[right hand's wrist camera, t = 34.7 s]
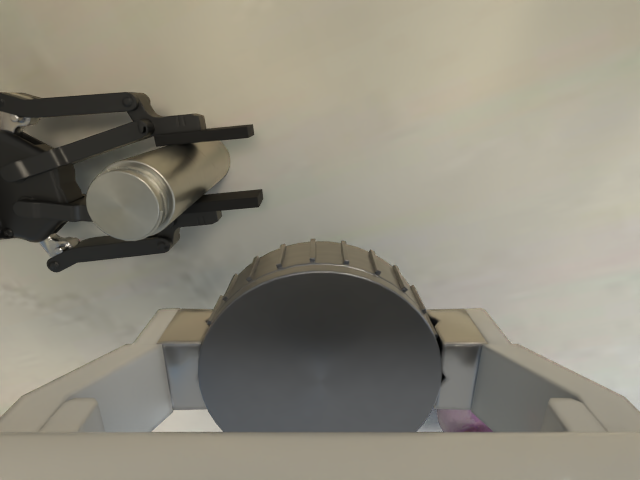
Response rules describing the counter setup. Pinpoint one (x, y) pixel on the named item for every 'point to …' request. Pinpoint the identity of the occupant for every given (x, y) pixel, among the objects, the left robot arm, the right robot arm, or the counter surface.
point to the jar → (154, 188)
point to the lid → (320, 345)
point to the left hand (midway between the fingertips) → (255, 165)
